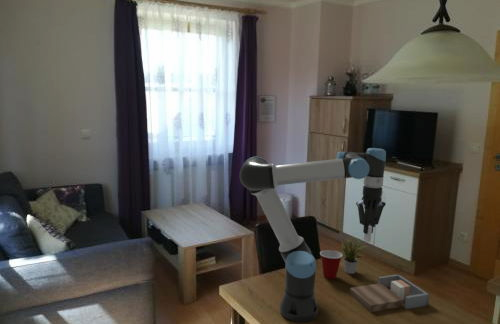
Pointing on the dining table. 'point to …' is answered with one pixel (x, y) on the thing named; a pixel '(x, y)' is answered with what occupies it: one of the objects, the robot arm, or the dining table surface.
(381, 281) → the box
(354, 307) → the dining table surface
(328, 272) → the plastic cup
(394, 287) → the cream tile
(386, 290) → the walnut plate
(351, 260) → the house plant
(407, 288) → the terracotta tile
